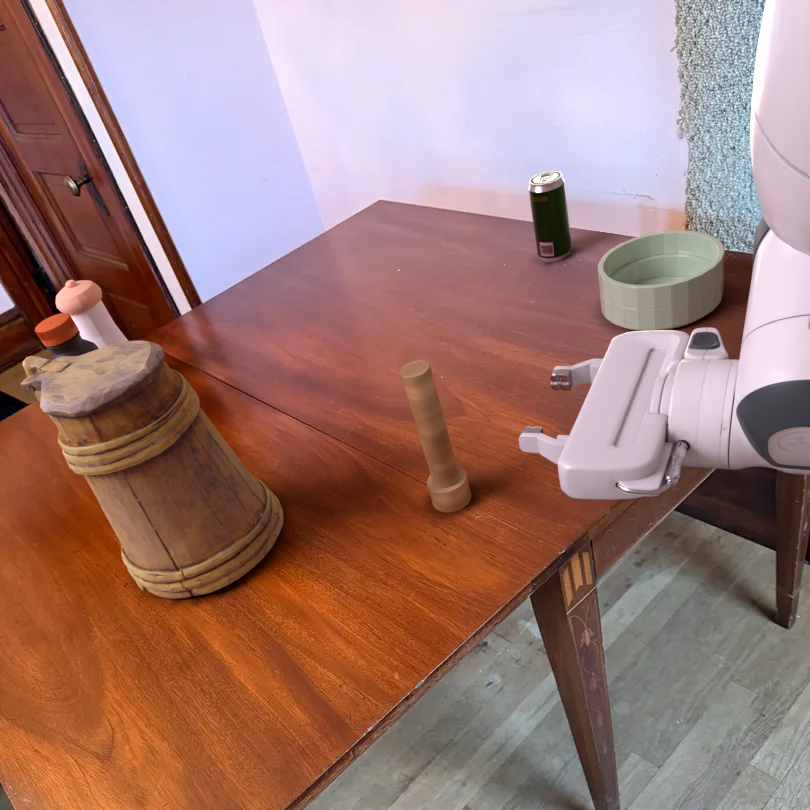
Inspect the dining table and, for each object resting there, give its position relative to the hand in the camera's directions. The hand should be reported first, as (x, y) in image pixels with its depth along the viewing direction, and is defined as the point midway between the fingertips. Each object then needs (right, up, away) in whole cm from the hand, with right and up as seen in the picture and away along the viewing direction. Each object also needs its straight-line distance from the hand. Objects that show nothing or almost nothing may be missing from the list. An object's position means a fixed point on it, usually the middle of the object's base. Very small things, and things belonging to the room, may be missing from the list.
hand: (537, 407), depth 68 cm
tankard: (-37, -13, +21) cm, 45 cm away
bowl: (+22, +20, +33) cm, 44 cm away
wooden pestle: (-7, -8, +15) cm, 18 cm away
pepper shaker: (-57, +13, +56) cm, 81 cm away
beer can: (+12, +33, +51) cm, 62 cm away
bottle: (-53, +2, +43) cm, 69 cm away
